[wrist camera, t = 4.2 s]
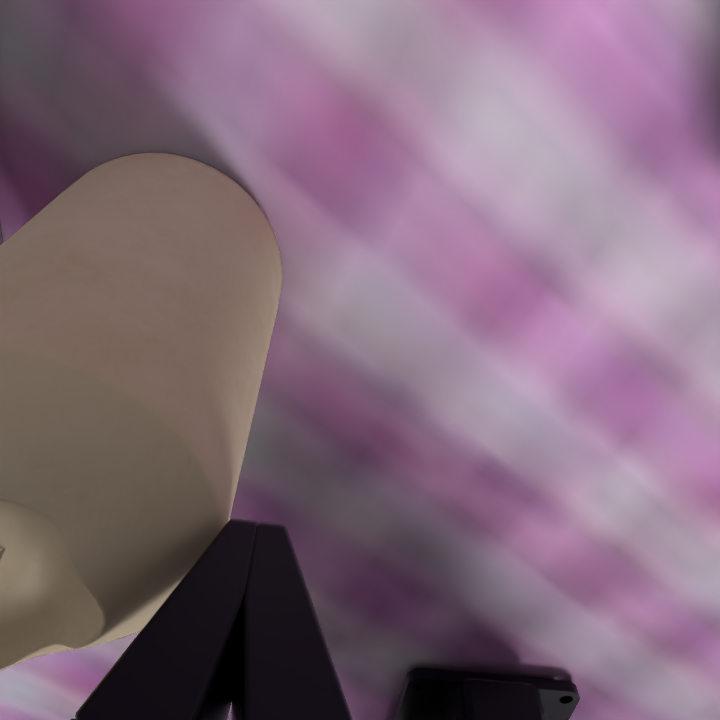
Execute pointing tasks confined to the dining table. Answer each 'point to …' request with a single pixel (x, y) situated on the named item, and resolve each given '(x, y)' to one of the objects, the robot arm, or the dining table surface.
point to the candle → (124, 393)
